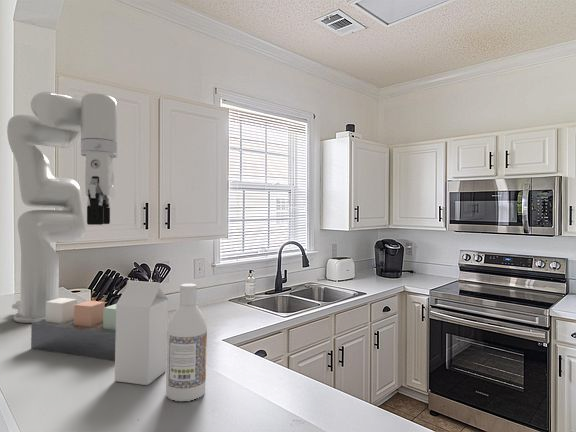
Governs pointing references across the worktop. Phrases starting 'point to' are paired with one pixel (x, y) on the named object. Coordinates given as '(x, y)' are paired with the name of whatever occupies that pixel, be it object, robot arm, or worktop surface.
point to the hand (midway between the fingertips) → (99, 224)
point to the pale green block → (109, 317)
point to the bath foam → (186, 349)
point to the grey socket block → (74, 339)
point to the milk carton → (141, 333)
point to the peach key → (88, 313)
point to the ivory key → (60, 310)
